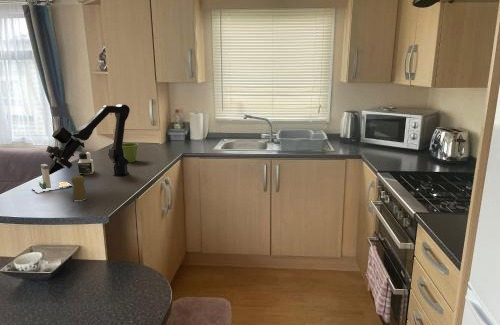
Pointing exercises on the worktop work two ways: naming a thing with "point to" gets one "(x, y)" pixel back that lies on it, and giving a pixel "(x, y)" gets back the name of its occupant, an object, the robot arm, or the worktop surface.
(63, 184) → the base
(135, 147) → the plant pot
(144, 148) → the worktop surface
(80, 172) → the medicine bottle
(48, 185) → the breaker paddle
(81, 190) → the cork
